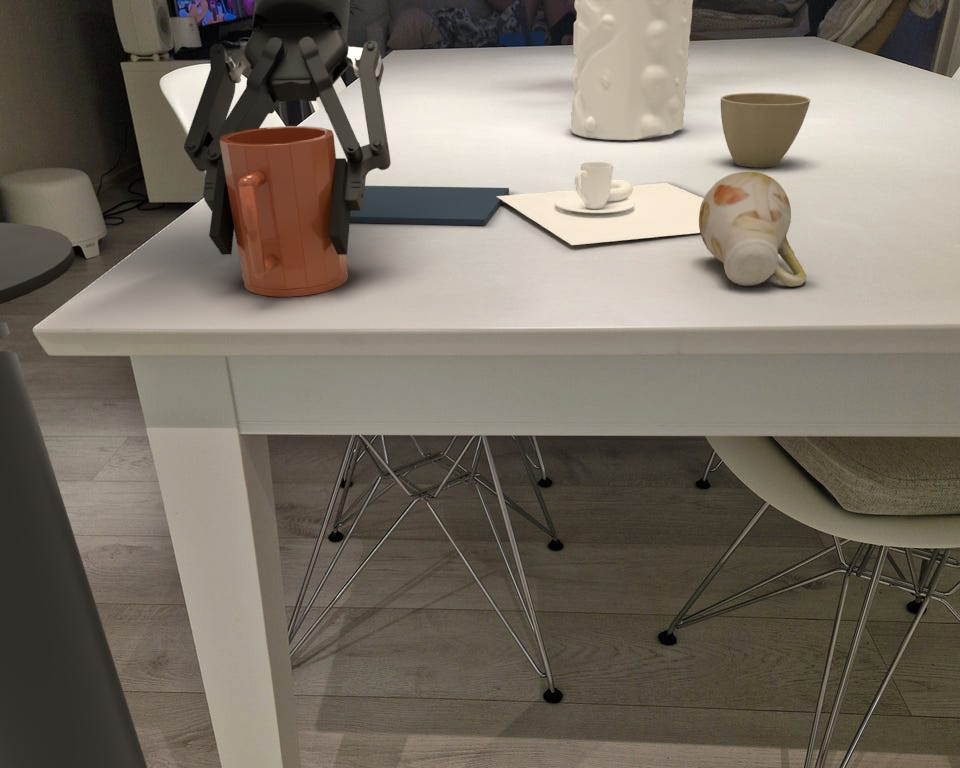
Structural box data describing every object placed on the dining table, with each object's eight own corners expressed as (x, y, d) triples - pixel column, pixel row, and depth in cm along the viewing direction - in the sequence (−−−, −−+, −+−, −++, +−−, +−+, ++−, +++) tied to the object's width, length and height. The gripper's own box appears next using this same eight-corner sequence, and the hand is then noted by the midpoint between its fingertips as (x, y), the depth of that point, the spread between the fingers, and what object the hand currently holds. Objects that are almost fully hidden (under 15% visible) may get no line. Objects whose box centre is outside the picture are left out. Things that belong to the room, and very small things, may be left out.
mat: (289, 221, 92) (288, 215, 92) (334, 190, 104) (333, 185, 103) (484, 225, 89) (484, 219, 88) (509, 193, 100) (509, 187, 100)
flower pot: (746, 175, 105) (755, 106, 101) (697, 160, 112) (703, 96, 108) (818, 166, 108) (829, 99, 104) (765, 153, 115) (774, 89, 111)
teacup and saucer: (619, 195, 96) (622, 154, 94) (655, 213, 90) (659, 168, 88) (541, 202, 94) (543, 159, 92) (573, 220, 87) (575, 175, 85)
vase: (559, 125, 138) (563, -141, 120) (665, 120, 139) (685, -144, 121) (580, 145, 123) (589, -154, 106) (698, 139, 124) (727, -157, 107)
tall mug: (268, 264, 79) (247, 125, 73) (361, 267, 78) (347, 126, 72) (210, 307, 70) (181, 152, 64) (315, 311, 68) (295, 153, 62)
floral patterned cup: (705, 297, 69) (687, 164, 69) (712, 315, 79) (696, 198, 78) (810, 276, 67) (792, 137, 66) (804, 297, 76) (788, 176, 76)
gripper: (439, 25, 78) (423, 270, 73) (195, 31, 80) (165, 270, 75) (427, -50, 70) (408, 217, 66) (158, -42, 72) (122, 218, 68)
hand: (279, 245), depth 70 cm, fingers closed on tall mug, 8 cm apart
